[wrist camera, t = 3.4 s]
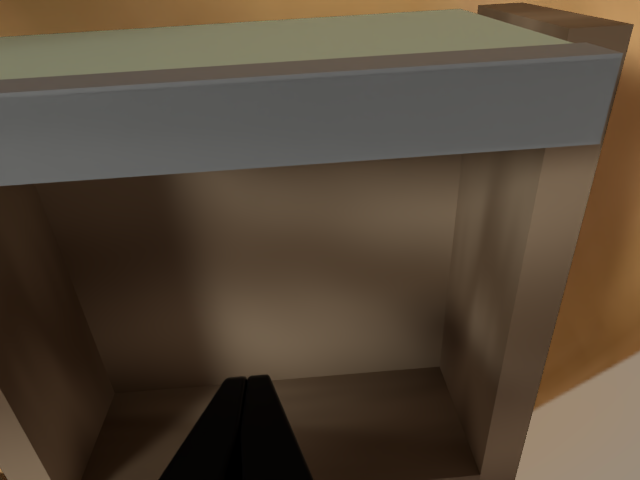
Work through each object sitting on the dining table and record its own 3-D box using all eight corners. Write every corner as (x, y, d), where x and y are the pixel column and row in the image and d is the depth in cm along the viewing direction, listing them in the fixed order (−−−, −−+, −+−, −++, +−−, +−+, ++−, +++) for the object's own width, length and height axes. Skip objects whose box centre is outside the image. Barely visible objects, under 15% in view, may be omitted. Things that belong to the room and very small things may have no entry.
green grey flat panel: (455, 58, 11) (600, 144, 6) (15, 86, 11) (-224, 201, 6) (460, 6, 11) (623, 52, 6) (-4, 34, 10) (-285, 111, 5)
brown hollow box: (456, 364, 18) (510, 493, 14) (102, 393, 17) (43, 536, 13) (504, -1, 12) (633, 24, 7) (-43, 32, 11) (-245, 79, 7)
